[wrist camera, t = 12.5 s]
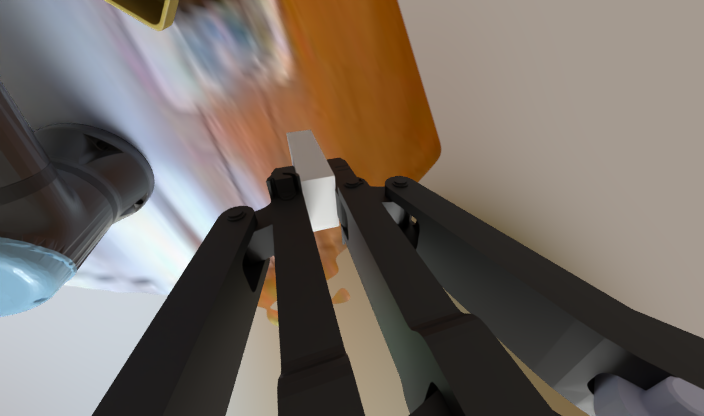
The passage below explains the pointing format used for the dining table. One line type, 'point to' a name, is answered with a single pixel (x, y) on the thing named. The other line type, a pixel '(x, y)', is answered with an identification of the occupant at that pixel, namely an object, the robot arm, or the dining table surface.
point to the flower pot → (149, 11)
